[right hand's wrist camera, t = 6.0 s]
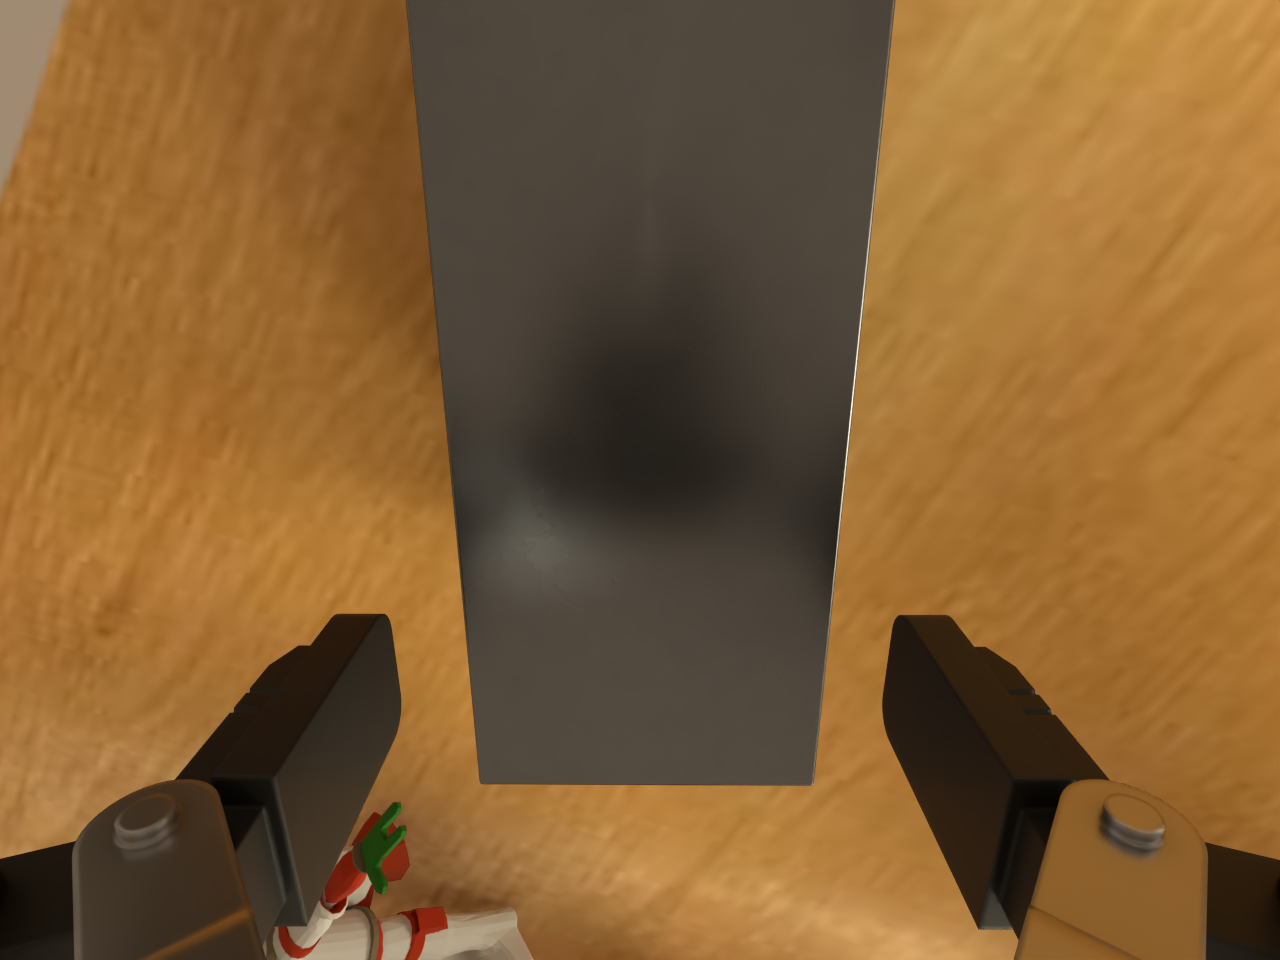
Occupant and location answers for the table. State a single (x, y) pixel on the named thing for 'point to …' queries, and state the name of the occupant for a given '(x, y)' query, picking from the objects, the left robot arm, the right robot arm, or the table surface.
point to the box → (648, 367)
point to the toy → (395, 945)
